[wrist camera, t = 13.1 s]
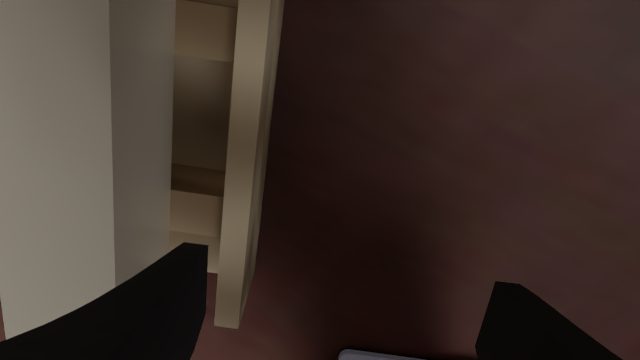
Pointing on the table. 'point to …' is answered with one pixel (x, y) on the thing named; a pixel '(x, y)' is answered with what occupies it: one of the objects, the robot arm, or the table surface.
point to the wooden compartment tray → (223, 136)
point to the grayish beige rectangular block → (82, 150)
